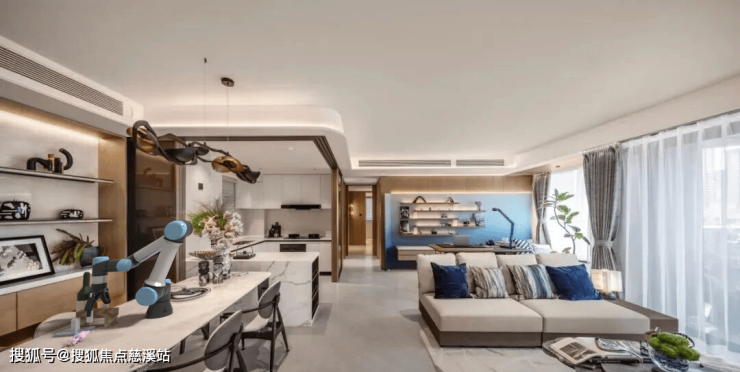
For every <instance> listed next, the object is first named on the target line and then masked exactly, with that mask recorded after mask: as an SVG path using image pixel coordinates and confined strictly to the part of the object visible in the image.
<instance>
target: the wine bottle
mask: <svg viewBox="0 0 740 372" xmlns="http://www.w3.org/2000/svg"><path fill="white" fill-rule="evenodd" d="M89 293H93V290H91V272H90V271H84V273H83V274H82V287H81V288H80V289H79V291H78V292H77V293H76V303H75V304H76V306H75V307H76V308H75V313H76V312H77V311H80V310H83V309H84V308H85V305H86V303H87V300H88V296H89ZM90 309H91V308H90Z"/></svg>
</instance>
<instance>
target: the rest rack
mask: <svg viewBox="0 0 740 372" xmlns="http://www.w3.org/2000/svg"><path fill="white" fill-rule="evenodd" d="M118 318H119V315H117V316H115V317H110V318H104V328H107V327H112V326H114V325H116V324H118V321H119V320H118ZM86 320H87V319H81V320H80V327H89V326H91V325H90V324H91V322H89V323H86Z"/></svg>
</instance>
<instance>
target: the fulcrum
mask: <svg viewBox="0 0 740 372" xmlns="http://www.w3.org/2000/svg"><path fill="white" fill-rule="evenodd" d="M96 327H97V326H96V325H92V326H91V325H88V326H86V327H80V317H79V318H76V317H74V318H72V319H71V320H70V327H68V328H65V329H63V330H61V331H58V332H57V333H54V334H53V335H52V338H62V337H63V338H64V337H74V335H75V333H76V332H77V333H78V334H79V333H80V332H82V331H90V332H91V331H93V330H94V329H95V330H96V329H97V328H96Z"/></svg>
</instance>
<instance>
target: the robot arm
mask: <svg viewBox="0 0 740 372" xmlns="http://www.w3.org/2000/svg"><path fill="white" fill-rule="evenodd" d="M193 232H194V226H193V224H192V222H191V221H188V220H173V221H171V222H169V223H168V224H166V225H165V227H164V230H163V234H164V235H162V236H161V237H159V238H158V239H156V240H154V241H153V242H151V243H149V244H147V245H146V246H143V248H141V249H139V250H138V251H136V252H134V253H133V254H131V255H129V256H126V257H124V258H120V259H110V258H109V256H96V257H93V258H92V262H91V263H92V264H91V266H92V267H91V277H90V287H91V290H93V293H89V296H88V300H87V303H86V305H85V308H84V311H87V320H86V323H89V322H90V323H93V310H92V309H94V307H95V305H96V303H97V302H98V300H99V299H100V300H101V302H102V303H103V304H102V307H101V308H109V305H110V304H111V302H112V299H111V298H112V297H111V296H110V292H109V288H108V279H109V278H108V277H109V276H108V275H109V273H123V272H129V271H130V270H131V269H134V268H136V267H138V266H139V265H140V264H141V263H142V262H144V261H146V260H148V259H149V258H151V257H152V256H154V255H156V254H158V253H159V255H158V257H157V259H156V261H155V264H154V266H153V268H152V271H151V272H150V275H149V277H148V278H147V279H144V282H143V284H142V286H141V287H140V288H139V289H138V290H137V291H136V293H135V301H136V302H137V304H138V305H140V306H142V307H143V306H144V307H147V309H146V312H145V318H147V319H159V318H165V317H167V316H170V315H172V314H173V313H174V308H173V305H172V302H171V292H172V281H171V278H167V275H168V273H169V271H170V268H171V267H172V264H173V261H174V259H175V256H176V254H177V252H178V250H179V248H180V246H181V245H184V242H185V240H186V238H188V237H190V236H191V235H192V233H193ZM90 308H91V309H90Z"/></svg>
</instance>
